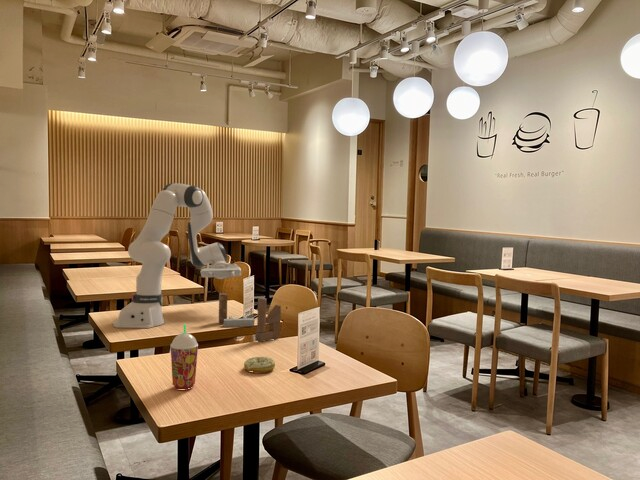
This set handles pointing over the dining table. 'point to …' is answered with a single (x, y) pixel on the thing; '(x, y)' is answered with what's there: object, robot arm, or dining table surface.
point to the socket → (238, 322)
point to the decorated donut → (259, 364)
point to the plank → (222, 307)
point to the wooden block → (267, 322)
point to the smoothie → (184, 360)
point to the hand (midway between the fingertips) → (221, 275)
